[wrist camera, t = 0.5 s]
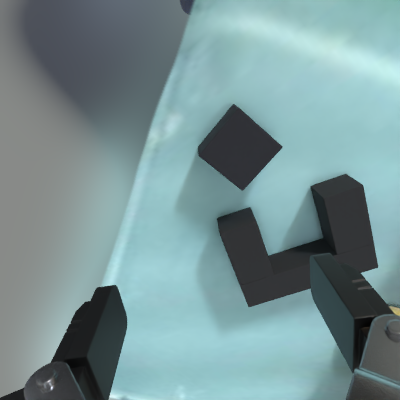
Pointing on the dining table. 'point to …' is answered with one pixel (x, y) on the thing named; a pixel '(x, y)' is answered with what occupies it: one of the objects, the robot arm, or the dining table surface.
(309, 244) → the large dark u-shaped block
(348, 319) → the robot arm
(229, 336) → the dining table surface
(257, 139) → the small black block
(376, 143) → the dining table surface
